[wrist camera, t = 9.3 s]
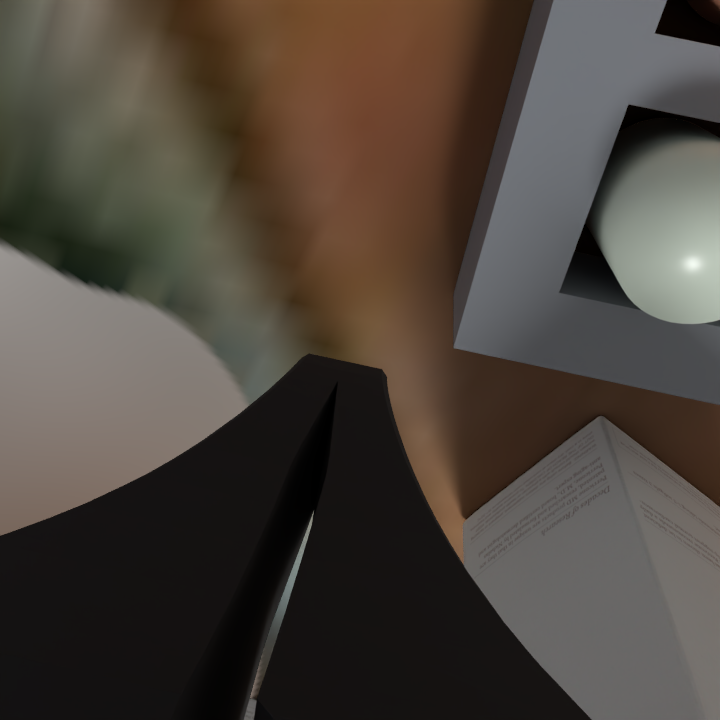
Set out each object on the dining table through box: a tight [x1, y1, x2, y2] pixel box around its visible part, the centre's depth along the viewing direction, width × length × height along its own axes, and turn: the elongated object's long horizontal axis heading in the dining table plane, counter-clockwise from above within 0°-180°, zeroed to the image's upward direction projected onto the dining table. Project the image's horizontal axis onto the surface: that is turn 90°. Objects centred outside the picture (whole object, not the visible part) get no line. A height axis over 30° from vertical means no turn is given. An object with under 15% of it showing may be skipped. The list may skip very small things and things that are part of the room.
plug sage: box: [585, 118, 720, 324], centre depth 16 cm, size 4×4×5 cm
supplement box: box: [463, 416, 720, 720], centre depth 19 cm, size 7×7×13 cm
